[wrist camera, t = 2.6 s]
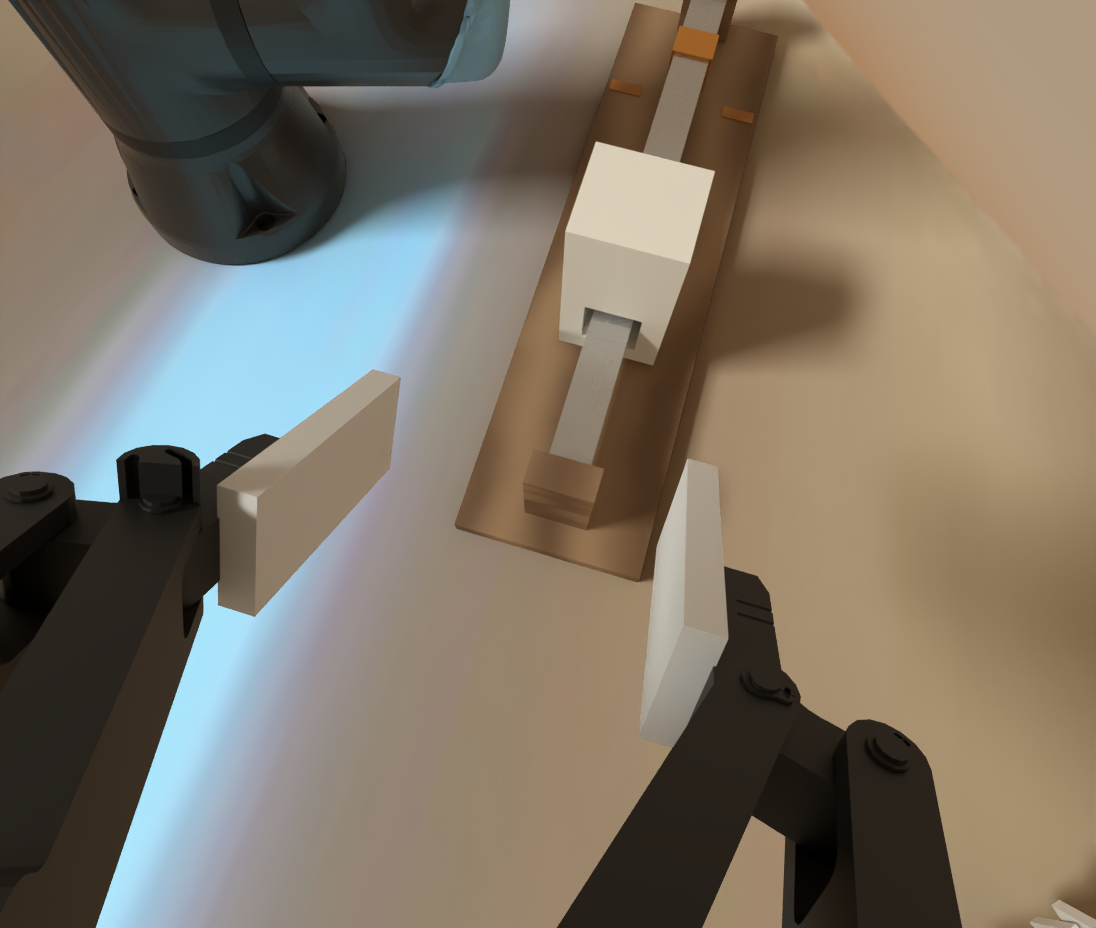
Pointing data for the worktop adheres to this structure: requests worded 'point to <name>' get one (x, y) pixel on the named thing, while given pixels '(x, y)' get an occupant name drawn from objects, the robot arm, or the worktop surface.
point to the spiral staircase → (1065, 918)
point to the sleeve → (630, 244)
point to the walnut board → (641, 389)
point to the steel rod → (664, 141)
